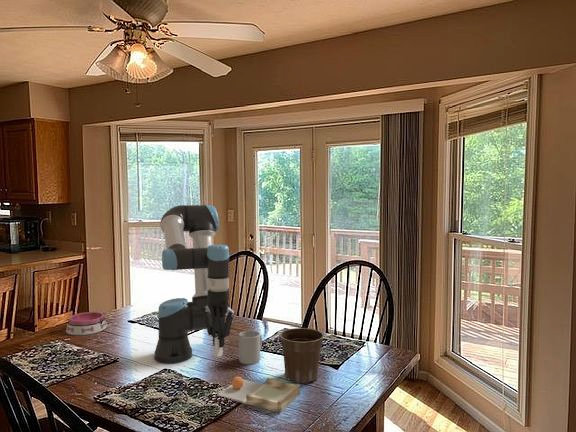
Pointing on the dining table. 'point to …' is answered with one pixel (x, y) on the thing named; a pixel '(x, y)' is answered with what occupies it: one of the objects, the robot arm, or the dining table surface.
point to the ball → (237, 382)
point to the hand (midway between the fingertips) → (218, 355)
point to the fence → (272, 404)
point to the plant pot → (301, 354)
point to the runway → (253, 392)
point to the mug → (249, 347)
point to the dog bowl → (86, 324)
